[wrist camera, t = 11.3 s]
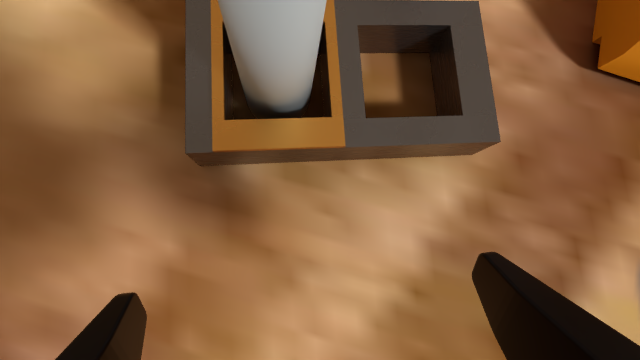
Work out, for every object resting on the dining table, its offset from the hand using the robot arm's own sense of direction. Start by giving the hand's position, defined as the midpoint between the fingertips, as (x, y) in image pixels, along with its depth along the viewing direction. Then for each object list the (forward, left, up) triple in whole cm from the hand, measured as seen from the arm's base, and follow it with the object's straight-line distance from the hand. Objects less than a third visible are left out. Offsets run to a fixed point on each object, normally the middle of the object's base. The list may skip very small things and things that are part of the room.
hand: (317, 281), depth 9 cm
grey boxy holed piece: (+10, -3, -11) cm, 15 cm away
